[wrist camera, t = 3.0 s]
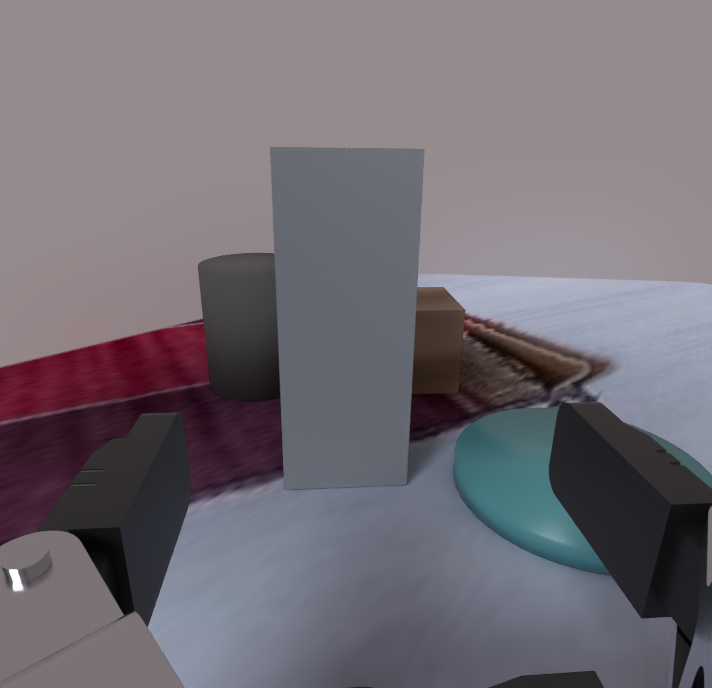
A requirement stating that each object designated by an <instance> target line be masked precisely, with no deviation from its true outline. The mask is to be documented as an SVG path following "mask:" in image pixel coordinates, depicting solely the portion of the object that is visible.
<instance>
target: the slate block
mask: <svg viewBox="0 0 712 688" xmlns="http://www.w3.org/2000/svg"><path fill="white" fill-rule="evenodd" d="M270 155H271V156H270V157H271V180H272V204H273V227H274V252H275V276H276V300H277V324H278V348H279V372H280V396H281V420H282V444H283V468H284V490H294V489H320V488H345V487H370V486H396V485H407V470H408V451H409V432H410V413H411V394H412V375H413V356H414V337H415V318H416V299H417V280H418V260H419V242H420V223H421V204H422V185H423V167H424V149H393V148H391V149H390V148H389V149H388V148H385V149H384V148H311V147H310V148H309V147H306V148H305V147H270Z"/></svg>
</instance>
